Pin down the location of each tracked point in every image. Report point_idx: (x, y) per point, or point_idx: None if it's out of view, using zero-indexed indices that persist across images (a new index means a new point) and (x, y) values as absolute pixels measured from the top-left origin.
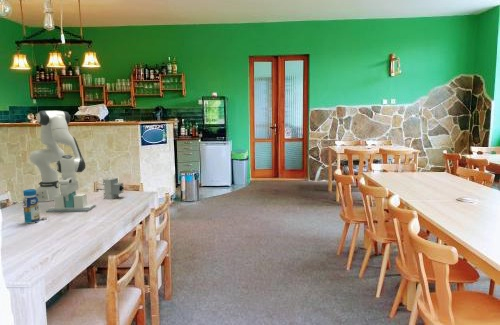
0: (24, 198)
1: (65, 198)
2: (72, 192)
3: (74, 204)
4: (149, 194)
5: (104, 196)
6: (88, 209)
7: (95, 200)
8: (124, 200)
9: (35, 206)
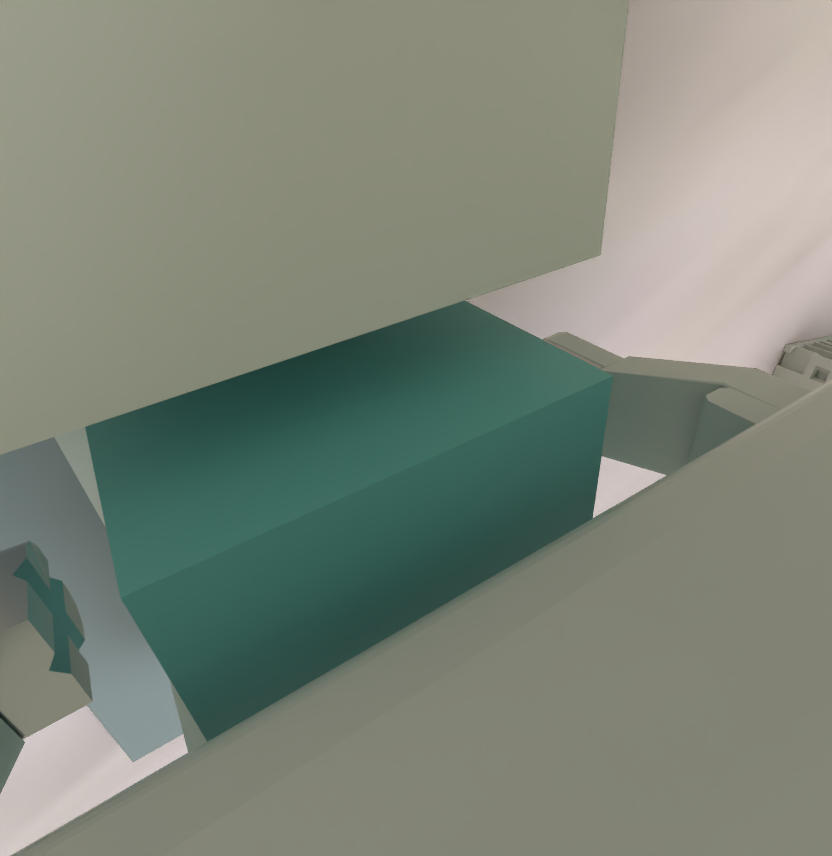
0: None
1: (93, 449)
2: (714, 391)
3: None
4: None
5: (811, 363)
6: (177, 732)
7: (747, 299)
8: None
9: None
